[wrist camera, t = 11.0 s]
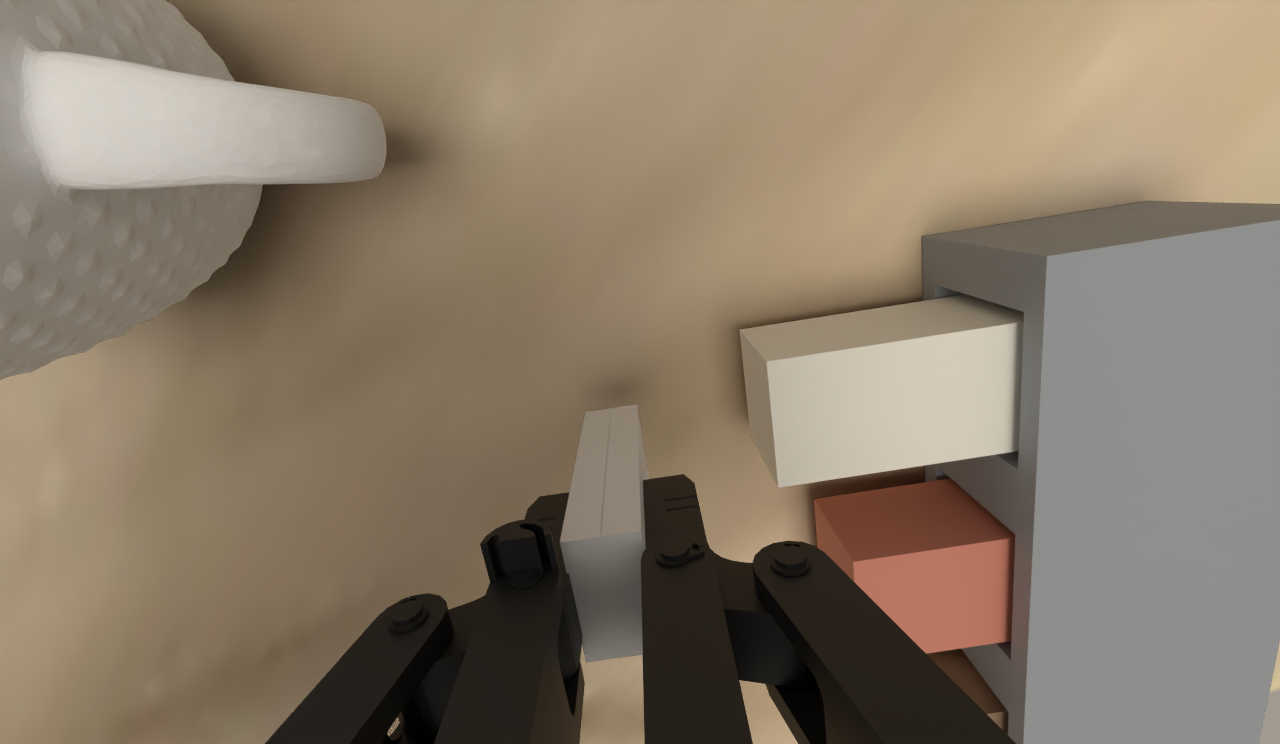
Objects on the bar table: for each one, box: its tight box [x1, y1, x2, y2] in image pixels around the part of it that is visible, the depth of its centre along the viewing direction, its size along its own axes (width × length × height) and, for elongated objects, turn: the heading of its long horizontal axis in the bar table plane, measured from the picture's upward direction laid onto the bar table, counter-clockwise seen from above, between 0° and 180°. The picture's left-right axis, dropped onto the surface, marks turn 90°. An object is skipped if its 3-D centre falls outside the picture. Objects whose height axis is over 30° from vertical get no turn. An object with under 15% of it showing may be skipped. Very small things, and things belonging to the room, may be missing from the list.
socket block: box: [922, 201, 1280, 744], centre depth 21 cm, size 8×22×6 cm, turn 9°
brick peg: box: [814, 478, 1015, 654], centre depth 21 cm, size 9×4×4 cm, turn 99°
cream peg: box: [739, 294, 1024, 488], centre depth 19 cm, size 9×4×4 cm, turn 99°
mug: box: [0, 0, 386, 380], centre depth 13 cm, size 15×11×13 cm
